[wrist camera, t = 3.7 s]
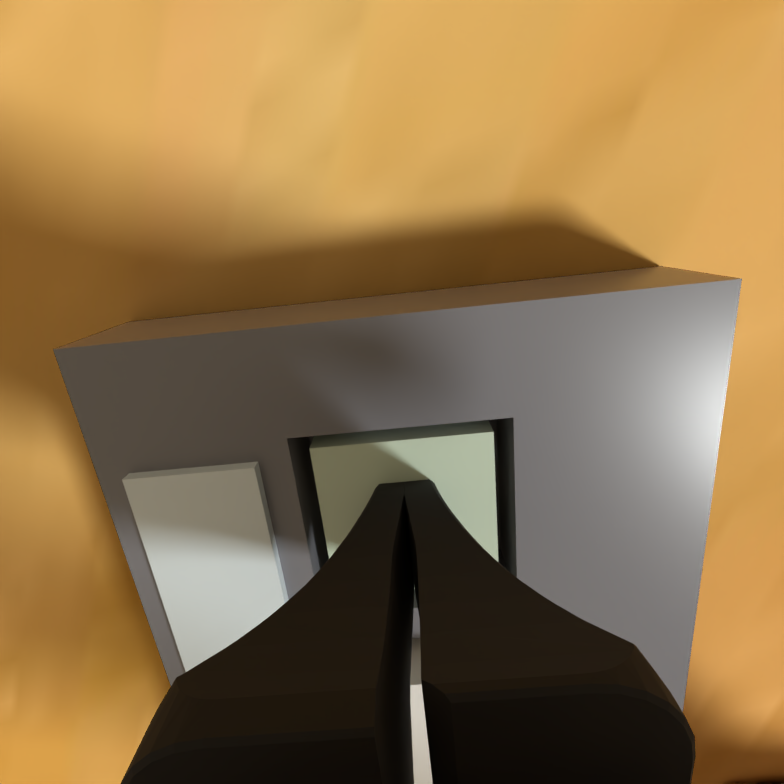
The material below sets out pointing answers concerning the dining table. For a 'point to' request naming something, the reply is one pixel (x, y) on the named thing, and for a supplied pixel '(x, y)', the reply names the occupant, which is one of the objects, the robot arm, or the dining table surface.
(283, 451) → the keypad
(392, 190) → the dining table surface
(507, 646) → the robot arm
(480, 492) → the sage key
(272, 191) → the dining table surface
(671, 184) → the dining table surface
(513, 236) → the dining table surface
